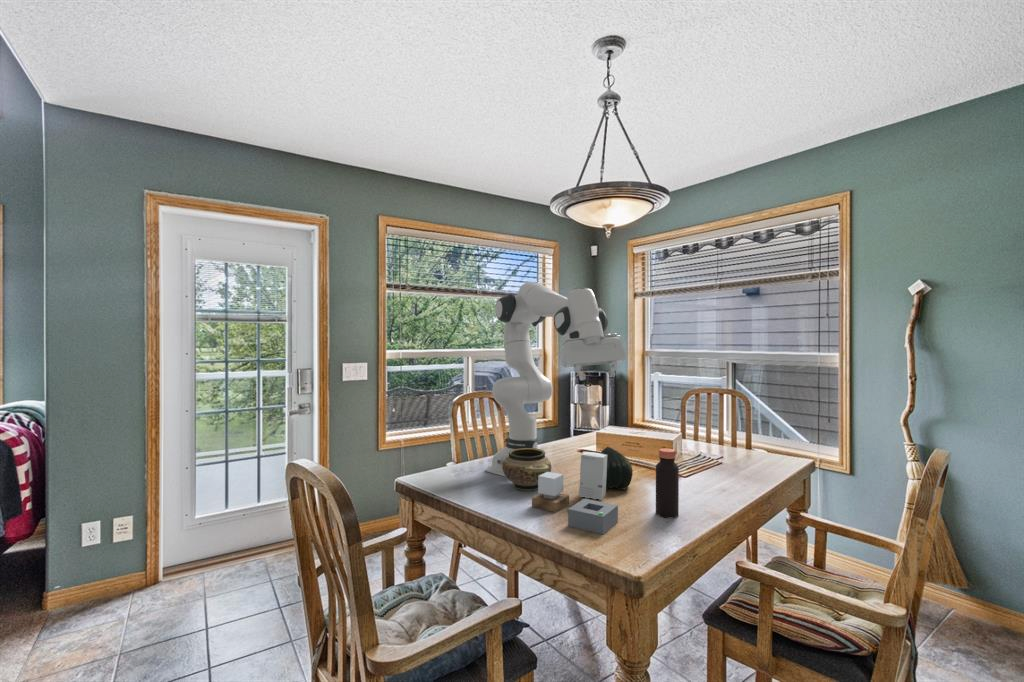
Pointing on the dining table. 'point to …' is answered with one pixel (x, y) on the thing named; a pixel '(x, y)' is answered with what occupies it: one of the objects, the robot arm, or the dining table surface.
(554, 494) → the plug
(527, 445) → the robot arm
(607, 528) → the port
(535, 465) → the ceramic bowl
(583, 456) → the skincare box
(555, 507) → the cradle
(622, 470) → the squash
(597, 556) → the dining table surface
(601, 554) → the dining table surface
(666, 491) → the bottle
